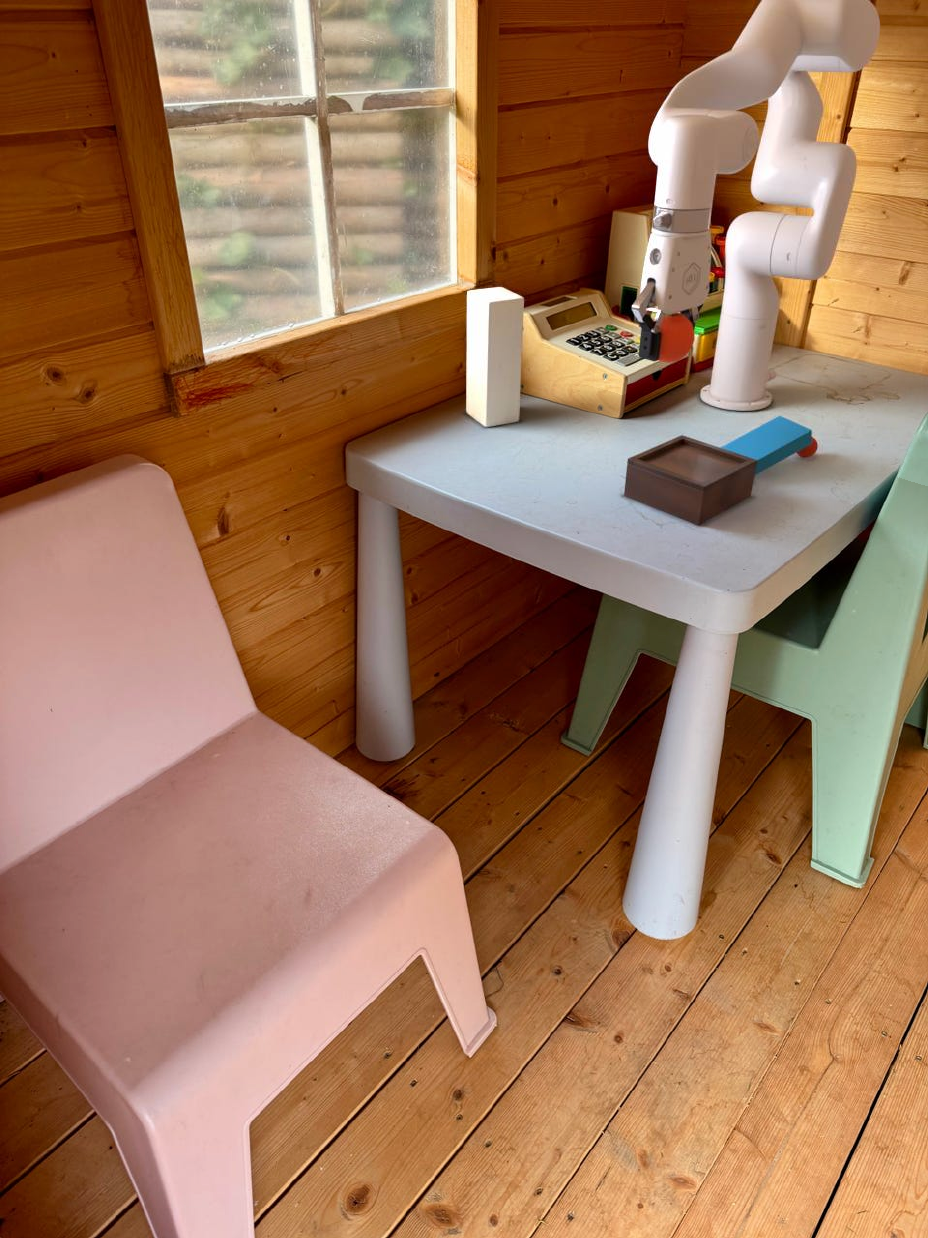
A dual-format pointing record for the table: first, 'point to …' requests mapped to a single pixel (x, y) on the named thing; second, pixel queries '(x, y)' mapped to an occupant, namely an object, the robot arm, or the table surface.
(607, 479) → the table surface
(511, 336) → the tall white pillar block
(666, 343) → the clementine
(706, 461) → the tray
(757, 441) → the lever
